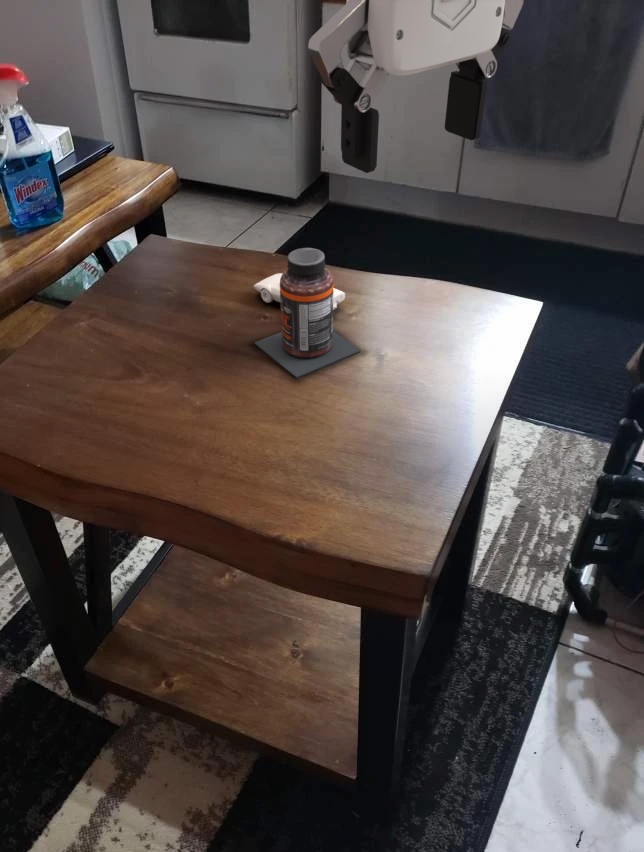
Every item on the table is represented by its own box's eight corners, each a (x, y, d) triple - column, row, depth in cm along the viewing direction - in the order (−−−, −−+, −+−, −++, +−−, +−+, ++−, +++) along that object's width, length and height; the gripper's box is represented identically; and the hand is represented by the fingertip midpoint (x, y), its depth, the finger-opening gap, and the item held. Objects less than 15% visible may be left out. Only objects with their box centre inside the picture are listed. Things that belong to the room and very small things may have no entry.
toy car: (278, 282, 100) (277, 258, 98) (349, 309, 94) (349, 284, 91) (250, 297, 97) (248, 272, 95) (320, 326, 91) (321, 300, 89)
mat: (315, 320, 93) (315, 318, 92) (360, 351, 87) (360, 350, 87) (254, 344, 89) (254, 342, 89) (296, 378, 84) (296, 376, 84)
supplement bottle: (275, 338, 89) (271, 248, 82) (322, 328, 91) (322, 238, 83) (291, 364, 85) (288, 272, 77) (340, 354, 86) (342, 261, 78)
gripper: (355, -148, 37) (347, 197, 49) (593, -176, 43) (535, 136, 55) (273, -150, 42) (284, 165, 54) (499, -176, 48) (464, 112, 60)
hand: (411, 150), depth 55 cm, fingers open, 9 cm apart
